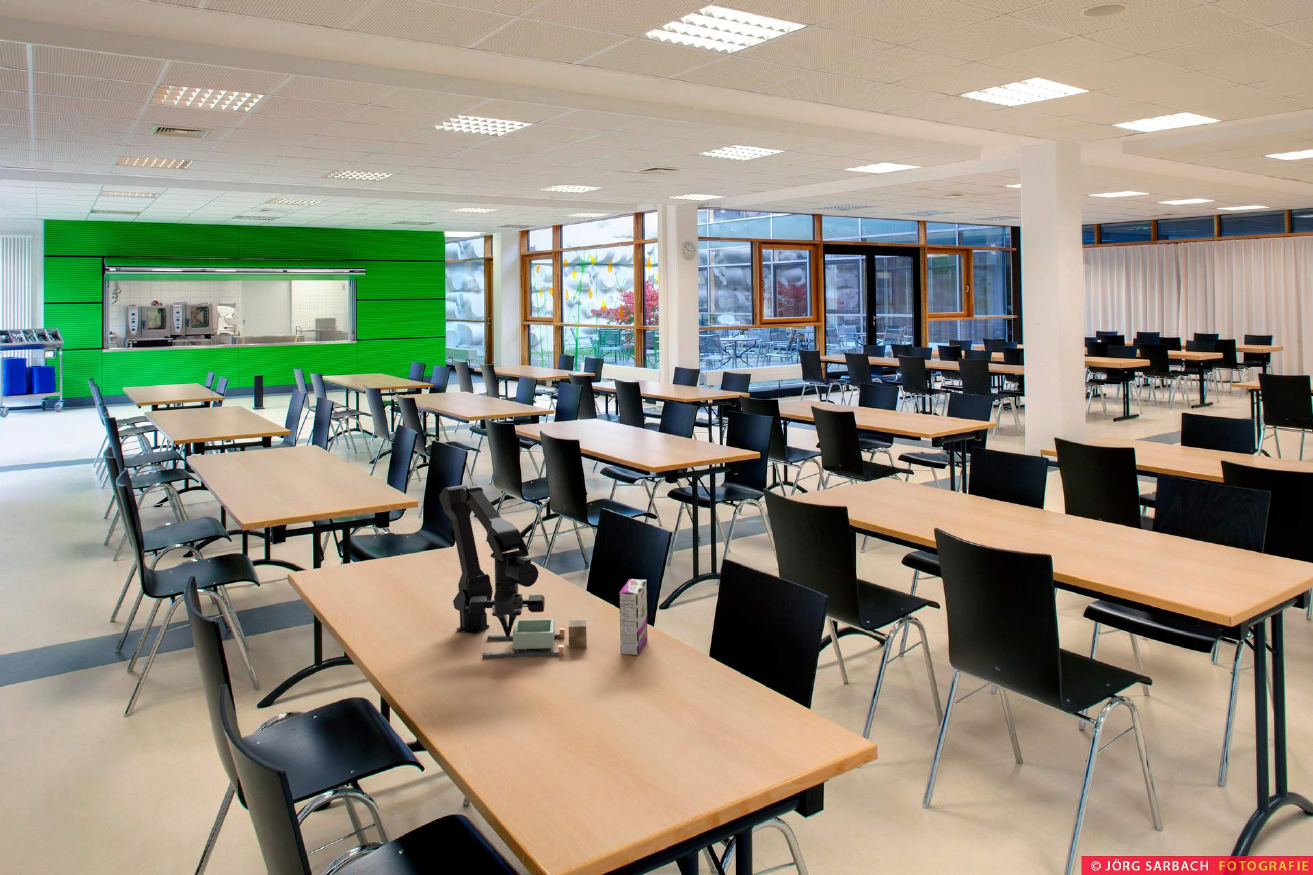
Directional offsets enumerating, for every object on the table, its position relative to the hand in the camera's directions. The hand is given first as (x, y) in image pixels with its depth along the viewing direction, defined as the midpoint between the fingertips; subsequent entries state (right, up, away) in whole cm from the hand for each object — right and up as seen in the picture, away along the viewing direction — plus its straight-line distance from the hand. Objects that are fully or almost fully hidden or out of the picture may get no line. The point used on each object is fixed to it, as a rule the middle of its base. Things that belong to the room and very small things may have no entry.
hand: (508, 636), depth 227 cm
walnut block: (+18, -3, +2) cm, 18 cm away
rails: (+4, -3, +1) cm, 5 cm away
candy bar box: (+32, -3, +1) cm, 32 cm away
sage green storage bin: (+7, -3, +1) cm, 7 cm away
